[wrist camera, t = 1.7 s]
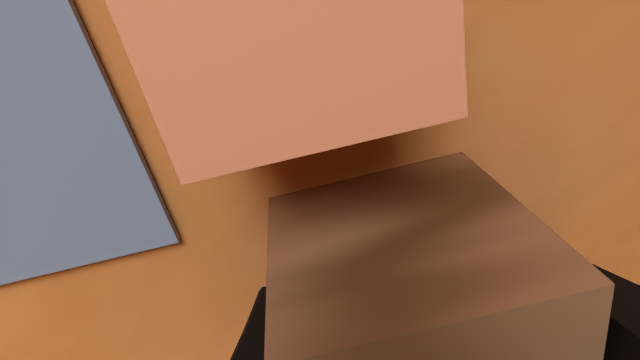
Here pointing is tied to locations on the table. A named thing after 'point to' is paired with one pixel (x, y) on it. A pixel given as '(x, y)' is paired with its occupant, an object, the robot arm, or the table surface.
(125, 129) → the frame
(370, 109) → the terracotta block
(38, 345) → the table surface
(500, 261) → the walnut cube
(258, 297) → the robot arm
